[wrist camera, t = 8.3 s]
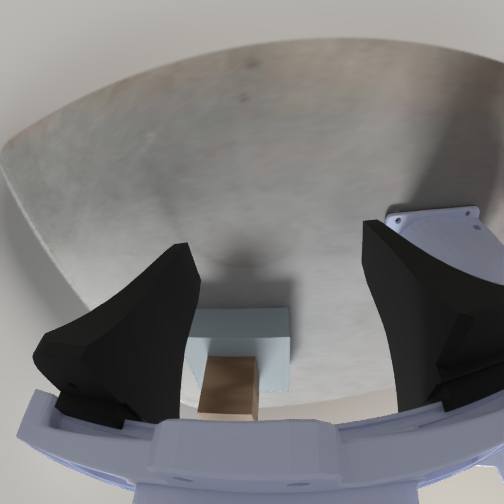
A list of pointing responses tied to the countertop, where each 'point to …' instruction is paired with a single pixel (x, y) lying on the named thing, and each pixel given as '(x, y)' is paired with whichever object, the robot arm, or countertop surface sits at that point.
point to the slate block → (243, 342)
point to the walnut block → (230, 389)
